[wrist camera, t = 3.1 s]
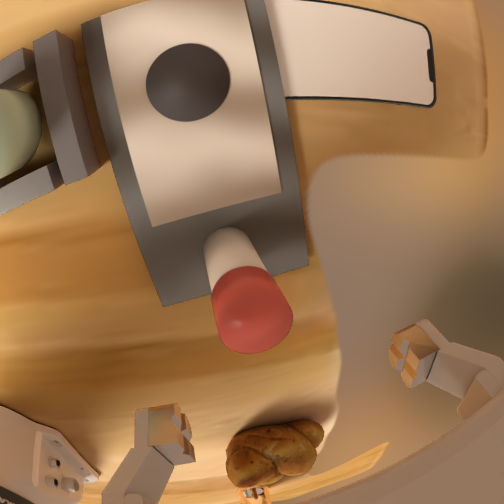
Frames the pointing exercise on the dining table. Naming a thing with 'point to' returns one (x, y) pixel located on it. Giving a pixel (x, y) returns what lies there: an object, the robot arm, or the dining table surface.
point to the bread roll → (272, 452)
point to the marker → (244, 294)
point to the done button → (18, 130)
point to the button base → (51, 117)
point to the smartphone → (351, 53)
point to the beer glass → (254, 495)
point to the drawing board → (197, 134)
